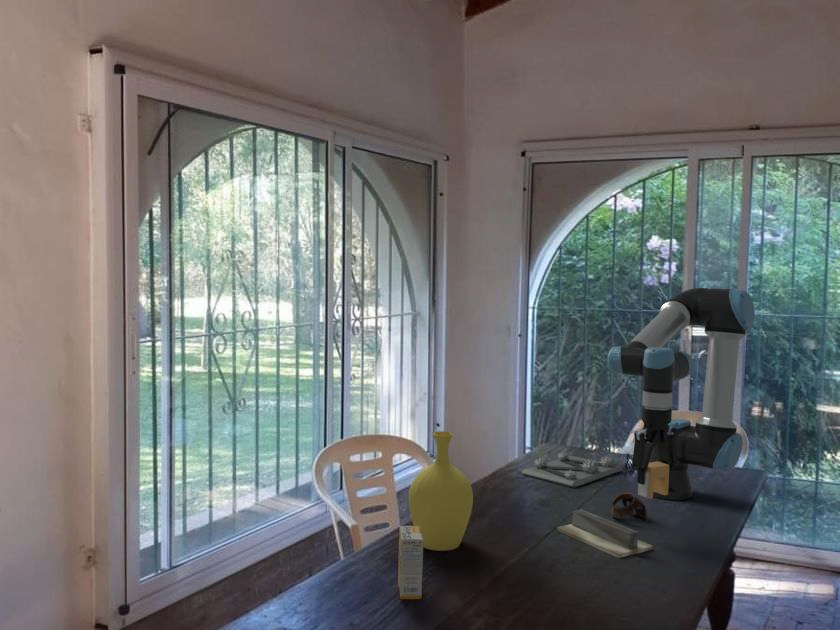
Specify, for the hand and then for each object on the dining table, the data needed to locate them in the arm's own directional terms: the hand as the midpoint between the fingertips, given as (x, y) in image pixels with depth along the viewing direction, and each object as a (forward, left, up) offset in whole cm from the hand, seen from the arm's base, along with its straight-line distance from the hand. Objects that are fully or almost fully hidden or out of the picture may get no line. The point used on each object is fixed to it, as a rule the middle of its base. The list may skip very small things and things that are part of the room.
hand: (653, 493), depth 211 cm
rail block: (+13, -4, -11) cm, 18 cm away
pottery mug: (-6, -13, -12) cm, 19 cm away
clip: (0, 0, 0) cm, 0 cm away
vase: (+52, -22, -12) cm, 58 cm away
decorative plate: (-25, -56, -12) cm, 62 cm away
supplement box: (+74, -1, -12) cm, 75 cm away
